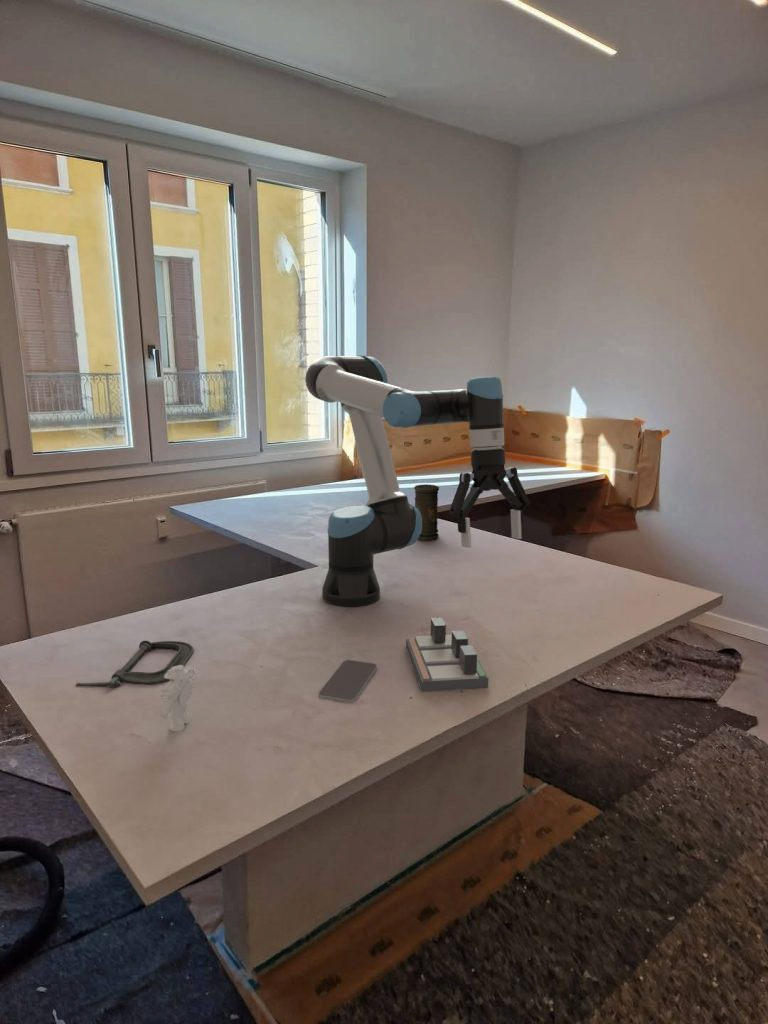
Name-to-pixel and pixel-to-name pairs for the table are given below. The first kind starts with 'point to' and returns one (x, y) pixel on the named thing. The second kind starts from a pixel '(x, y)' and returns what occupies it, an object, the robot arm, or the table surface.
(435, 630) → the block
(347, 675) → the smartphone
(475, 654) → the block
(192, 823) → the table surface
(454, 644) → the block
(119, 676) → the c clamp
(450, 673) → the panel
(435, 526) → the container
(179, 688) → the hat wearing toy figure
